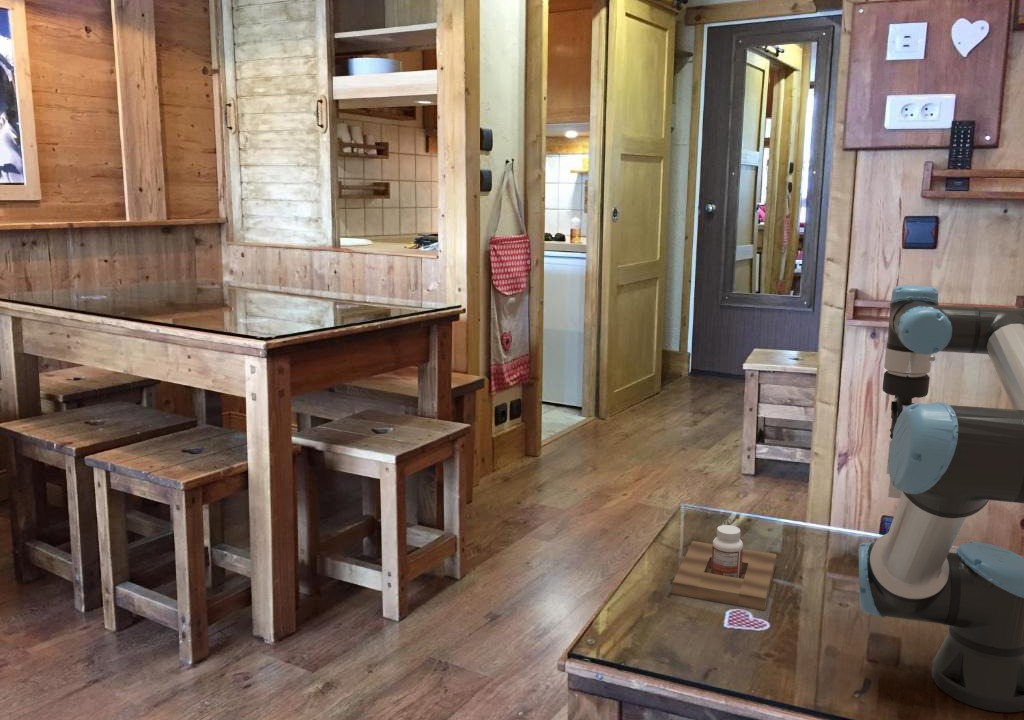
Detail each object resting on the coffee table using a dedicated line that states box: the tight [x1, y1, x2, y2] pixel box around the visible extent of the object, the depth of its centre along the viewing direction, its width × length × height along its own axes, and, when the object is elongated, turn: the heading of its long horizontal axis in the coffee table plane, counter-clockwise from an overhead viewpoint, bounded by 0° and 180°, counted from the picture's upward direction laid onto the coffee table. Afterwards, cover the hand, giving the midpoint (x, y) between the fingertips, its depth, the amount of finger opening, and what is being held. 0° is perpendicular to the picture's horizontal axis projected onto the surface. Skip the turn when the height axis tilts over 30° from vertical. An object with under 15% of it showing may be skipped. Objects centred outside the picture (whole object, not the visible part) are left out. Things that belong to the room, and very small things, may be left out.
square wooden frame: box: [671, 540, 777, 611], centre depth 182 cm, size 22×18×2 cm
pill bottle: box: [710, 524, 744, 579], centre depth 181 cm, size 6×6×11 cm
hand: (895, 485), depth 160 cm, fingers open, 13 cm apart
